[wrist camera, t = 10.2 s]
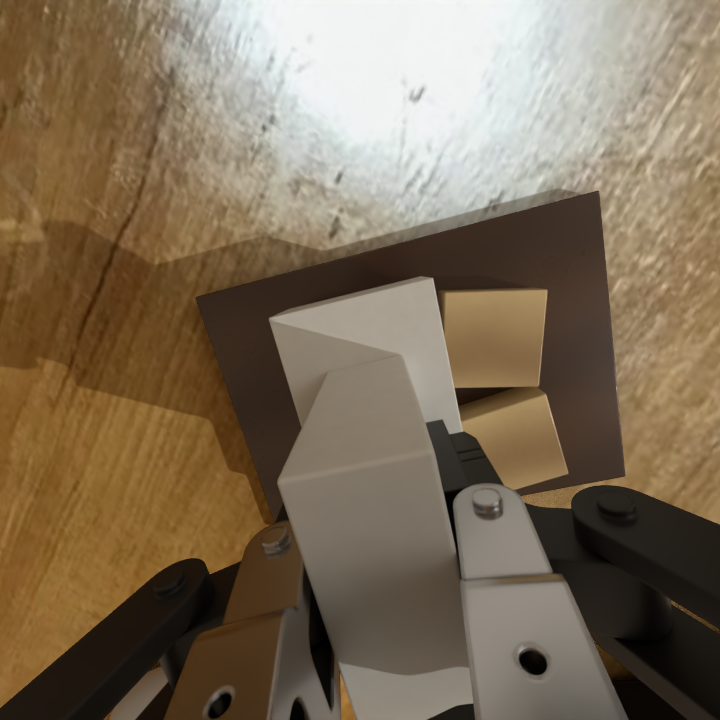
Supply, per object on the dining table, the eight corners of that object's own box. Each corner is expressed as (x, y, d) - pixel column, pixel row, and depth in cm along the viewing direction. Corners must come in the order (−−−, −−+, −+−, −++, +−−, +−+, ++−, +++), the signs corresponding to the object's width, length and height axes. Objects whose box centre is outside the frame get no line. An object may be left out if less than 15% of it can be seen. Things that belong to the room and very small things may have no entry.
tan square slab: (446, 409, 16) (454, 424, 14) (530, 381, 15) (546, 393, 14) (471, 480, 16) (480, 500, 15) (551, 455, 16) (569, 474, 14)
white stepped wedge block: (355, 514, 17) (329, 839, 7) (296, 305, 15) (143, 375, 5) (462, 494, 17) (584, 814, 7) (417, 275, 14) (506, 287, 5)
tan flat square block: (437, 290, 14) (444, 292, 13) (530, 287, 14) (548, 289, 13) (436, 377, 15) (442, 388, 14) (523, 375, 15) (539, 387, 14)
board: (203, 295, 16) (194, 297, 15) (587, 194, 14) (599, 190, 13) (284, 529, 18) (280, 540, 18) (614, 467, 17) (625, 476, 16)
